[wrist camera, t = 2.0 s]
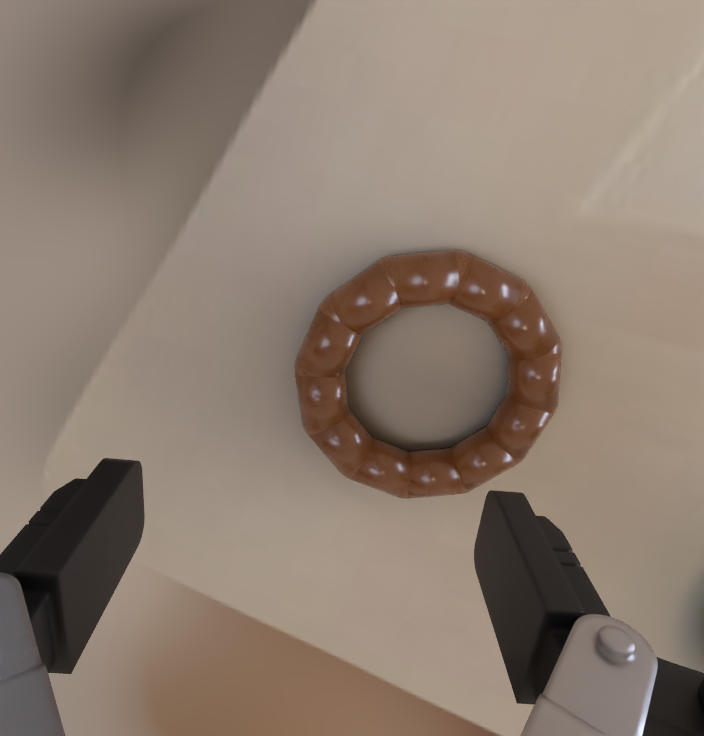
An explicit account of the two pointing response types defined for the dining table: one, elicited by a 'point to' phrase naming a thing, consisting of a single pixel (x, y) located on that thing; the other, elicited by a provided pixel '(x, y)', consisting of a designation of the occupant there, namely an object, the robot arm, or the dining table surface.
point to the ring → (414, 289)
